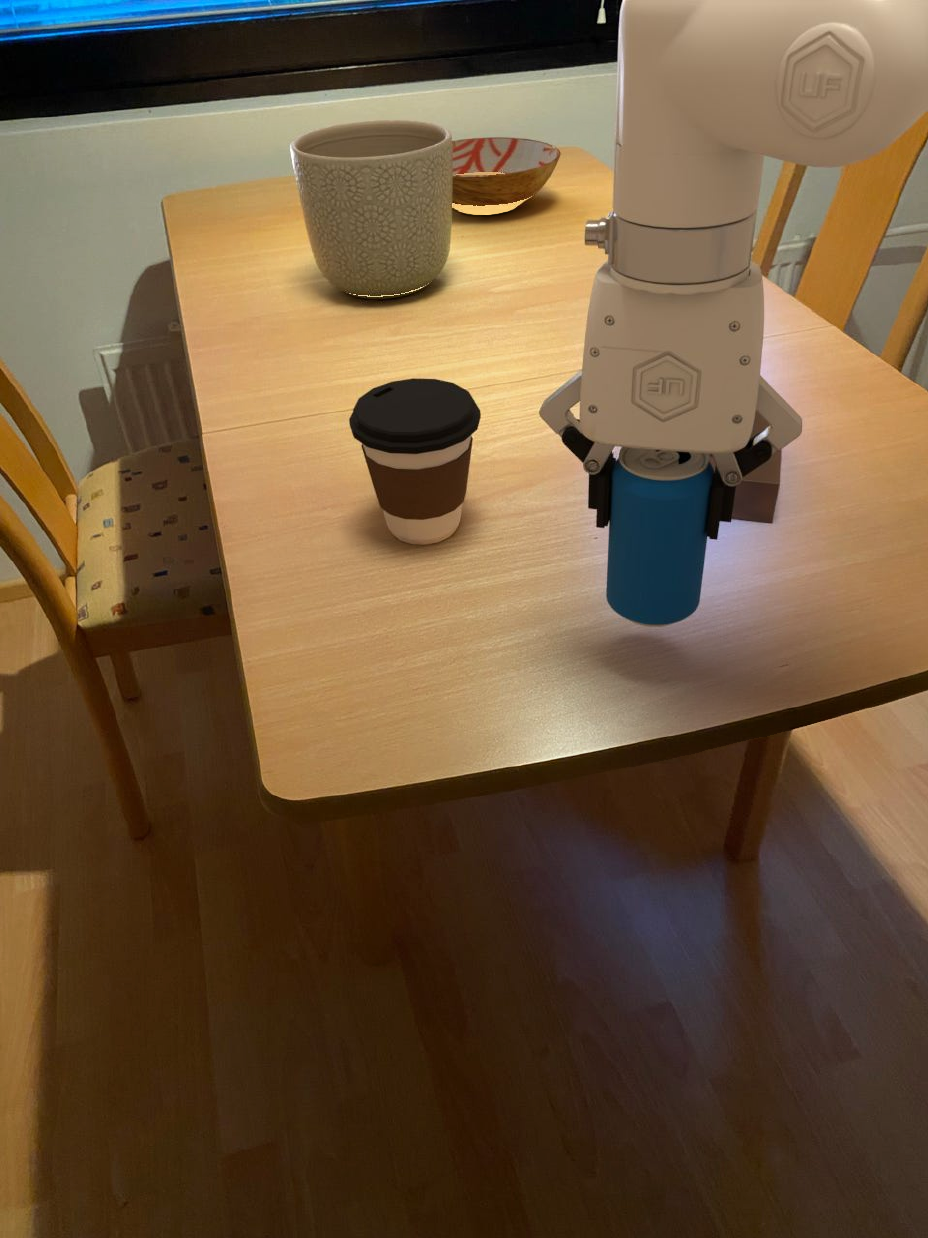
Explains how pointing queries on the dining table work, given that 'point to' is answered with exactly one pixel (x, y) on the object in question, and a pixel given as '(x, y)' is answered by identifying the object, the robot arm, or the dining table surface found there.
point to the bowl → (500, 169)
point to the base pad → (757, 485)
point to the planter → (377, 203)
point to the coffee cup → (418, 454)
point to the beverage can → (657, 534)
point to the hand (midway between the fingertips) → (658, 520)
